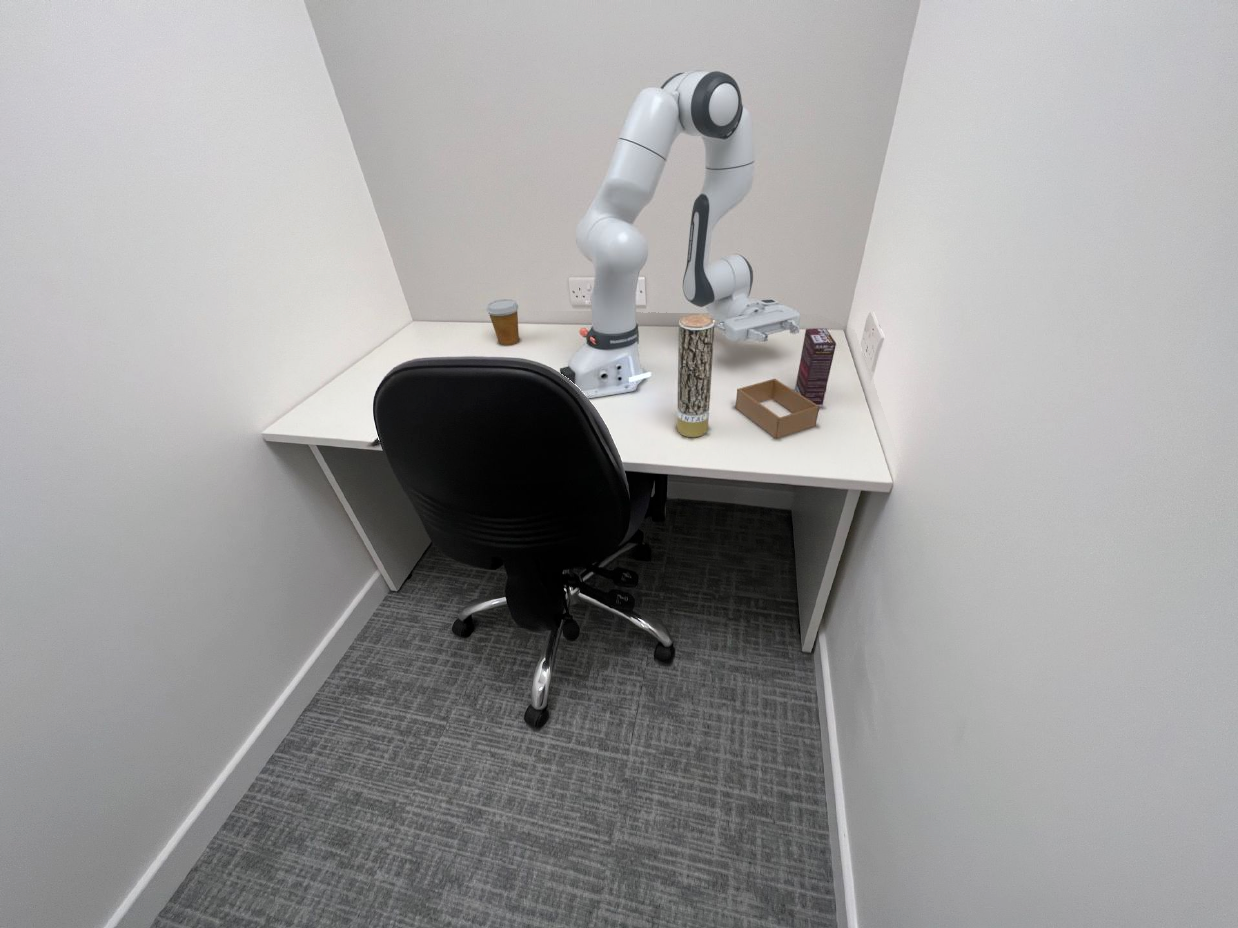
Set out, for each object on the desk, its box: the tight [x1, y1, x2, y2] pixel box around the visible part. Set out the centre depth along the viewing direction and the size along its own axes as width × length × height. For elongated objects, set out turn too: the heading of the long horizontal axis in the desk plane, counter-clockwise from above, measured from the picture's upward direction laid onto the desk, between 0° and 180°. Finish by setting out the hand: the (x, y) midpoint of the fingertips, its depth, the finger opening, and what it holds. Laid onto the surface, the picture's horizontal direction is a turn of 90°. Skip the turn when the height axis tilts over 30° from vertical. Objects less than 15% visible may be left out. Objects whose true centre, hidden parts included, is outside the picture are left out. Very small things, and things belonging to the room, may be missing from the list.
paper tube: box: [676, 314, 716, 438], centre depth 102 cm, size 7×7×25 cm
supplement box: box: [794, 328, 837, 409], centre depth 113 cm, size 9×5×16 cm, turn 176°
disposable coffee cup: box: [486, 298, 520, 346], centre depth 153 cm, size 10×10×12 cm
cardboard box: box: [735, 378, 820, 440], centre depth 111 cm, size 10×15×5 cm
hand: (781, 334), depth 120 cm, fingers open, 8 cm apart
